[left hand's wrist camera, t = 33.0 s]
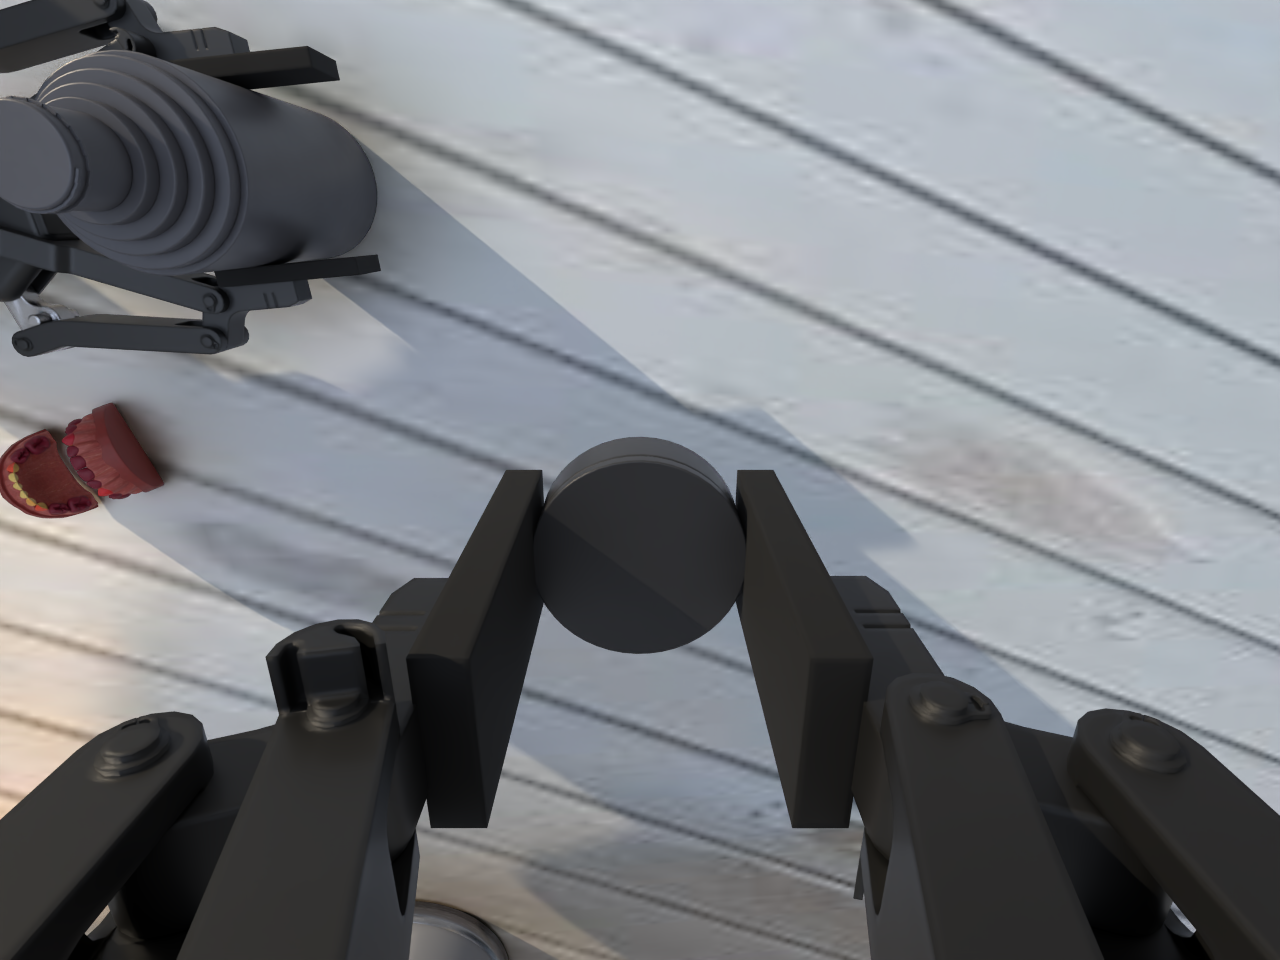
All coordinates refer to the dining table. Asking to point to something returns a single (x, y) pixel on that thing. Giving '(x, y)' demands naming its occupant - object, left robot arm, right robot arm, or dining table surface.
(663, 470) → the cap
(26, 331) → the right robot arm
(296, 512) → the dining table surface
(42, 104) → the bottle
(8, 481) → the dental model
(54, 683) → the dining table surface
